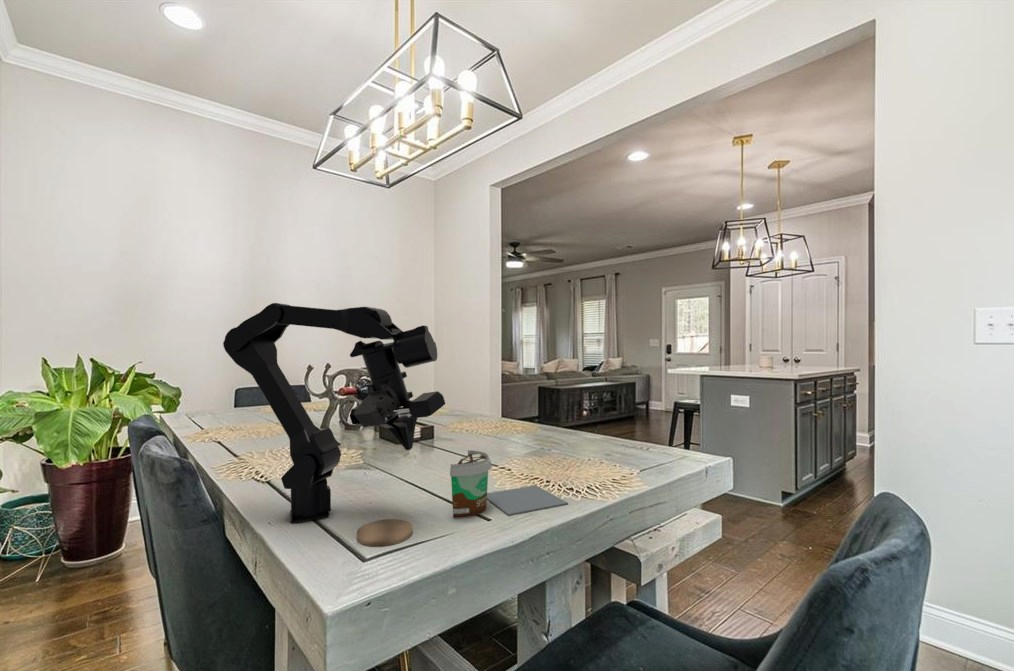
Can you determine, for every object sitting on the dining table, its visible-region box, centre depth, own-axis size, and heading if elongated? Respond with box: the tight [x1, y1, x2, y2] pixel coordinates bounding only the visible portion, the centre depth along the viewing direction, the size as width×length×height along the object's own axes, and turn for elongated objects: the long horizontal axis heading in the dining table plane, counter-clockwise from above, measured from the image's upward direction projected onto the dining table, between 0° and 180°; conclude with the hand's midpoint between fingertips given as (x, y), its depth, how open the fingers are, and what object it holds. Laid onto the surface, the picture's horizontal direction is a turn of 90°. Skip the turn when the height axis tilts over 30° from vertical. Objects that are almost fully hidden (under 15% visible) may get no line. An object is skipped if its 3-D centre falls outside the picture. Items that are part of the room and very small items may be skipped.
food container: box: [449, 449, 493, 519], centre depth 90 cm, size 12×6×10 cm, turn 168°
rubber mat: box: [487, 484, 569, 517], centre depth 95 cm, size 13×13×1 cm
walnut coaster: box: [356, 518, 413, 547], centre depth 79 cm, size 9×9×1 cm
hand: (409, 449), depth 90 cm, fingers closed
